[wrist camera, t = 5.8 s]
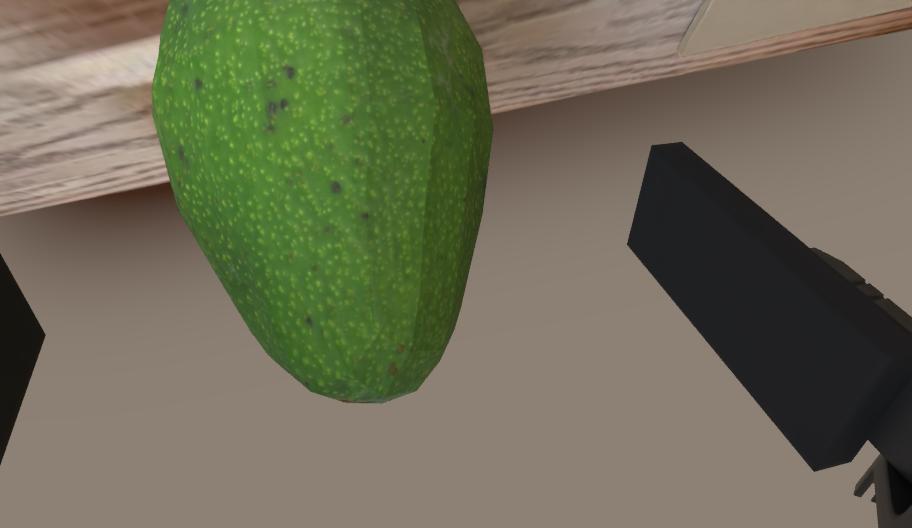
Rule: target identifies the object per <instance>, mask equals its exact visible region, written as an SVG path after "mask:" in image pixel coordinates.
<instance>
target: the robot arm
mask: <svg viewBox="0 0 912 528" xmlns="http://www.w3.org/2000/svg"><path fill="white" fill-rule="evenodd" d="M627 245H628V246H629V248H630V249H631V250H632V251H633V252H634V253H635V255H636V256H637V257H638V258H639V260H640V261H641V262H642V263H643V265H644V266H645V267H646V268H647V269H648V271H649V272H650V273H651V274H652V275H653V277H654V278H655V279H656V280H657V282H658V283H659V284H660V285H661V286H662V287H663V289H664V290H665V291H666V292H667V294H668V295H669V296H670V297H671V299H672V300H673V301H674V302H675V303H676V305H677V306H678V307H679V308H680V310H682V312H683V313H684V314H685V316H686V317H687V318H688V319H689V320H690V321H691V323H692V324H693V325H694V327H696V329H697V330H698V331H699V333H700V334H701V335H702V336H703V337H704V339H705V340H706V341H707V342H708V343H709V345H710V346H711V347H712V348H713V349H714V351H715V352H716V353H717V354H718V356H719V357H720V358H721V359H722V361H723V362H724V363H725V364H726V365H727V367H728V368H729V369H730V370H731V371H732V373H733V374H734V375H735V376H736V378H737V379H738V380H739V381H740V382H741V384H742V385H743V386H744V387H745V388H746V390H747V391H748V392H749V393H750V395H751V396H752V397H753V398H754V399H755V401H756V402H757V403H758V404H759V405H760V407H761V408H762V409H763V410H764V411H765V413H766V414H767V415H768V416H769V418H770V419H771V420H772V421H773V422H774V424H775V425H776V426H777V427H778V429H779V430H780V431H781V432H782V433H783V435H784V436H785V437H786V438H787V439H788V440H789V442H790V443H791V444H792V446H793V447H794V448H795V449H796V450H797V452H798V453H799V454H800V455H801V456H802V458H803V459H804V460H805V461H806V463H807V464H808V465H809V466H810V467H811V469H812V470H813V471H814V472H815V471H819V470H823V469H826V468H830V467H834V466H838V465H841V464H845V463H849V462H851V461H852V460H853V459H854V457H855V456H856V455H857V453H858V452H859V450H860V449H861V448H862V446H863V445H864V444H865V442H866V441H867V440H869V441H870V442H871V444H873V446H874V447H875V448H876V449H877V450H878V451H879V452H880V455H879V456H878V457H877V458H876V460H875V461H874V462H873V464H872V465H871V466H870V467H869V469H868V470H867V471H866V473H865V474H864V475H863V477H862V478H861V479H860V481H859V482H858V483H857V484H856V487H855V491H854V495H855V496H858V497H861V496H862V495H863V494H864V493H865V492H866V490H867V489H868V488H869V487H870V485H871V484H872V483H875V495H874V497H873V498H872V499H871V501H872V502H875V503H876V504H877V516H878V527H879V528H912V317H911V316H909V315H908V314H907V313H906V312H905V311H903V310H902V309H901V308H900V307H898V306H897V305H896V304H895V303H893V302H892V301H891V300H890V299H888V298H887V299H884V297H883V294H882V293H881V292H880V291H879V290H877V289H876V288H875V287H874V286H872V285H871V284H870V283H869V284H866V283H865V279H864V278H862V277H861V276H860V275H859V274H857V273H856V272H855V271H854V270H852V269H851V268H850V267H849V266H848V265H846V264H845V263H844V262H842V261H840V260H838V259H836V258H834V257H832V256H831V255H829V254H827V253H825V252H822V251H821V250H819V249H817V248H809V247H808V246H806V245H805V244H804V243H803V242H802V241H800V240H799V239H798V238H797V237H796V236H794V235H793V234H792V233H791V232H789V231H788V230H787V229H786V228H785V227H783V226H782V225H781V224H780V223H779V222H778V221H776V220H775V219H774V218H773V217H772V216H770V215H769V214H768V213H767V212H765V211H764V210H763V209H762V208H761V207H759V206H758V205H757V204H756V203H755V202H754V201H752V200H751V199H750V198H749V197H747V196H746V195H745V194H744V193H743V192H741V191H740V190H739V189H738V188H737V187H735V186H734V185H733V184H732V183H731V182H729V181H728V180H727V179H726V178H725V177H723V176H722V175H721V174H720V173H719V172H717V171H716V170H715V169H714V168H712V167H711V166H710V165H709V164H708V163H706V162H705V161H704V160H703V159H702V158H701V157H699V156H698V155H697V154H696V153H694V152H693V151H692V150H691V149H690V148H688V147H687V146H686V145H685V144H684V143H683V142H678V143H668V144H660V145H652V146H651V151H650V154H649V158H648V162H647V167H646V170H645V175H644V178H643V182H642V186H641V190H640V195H639V199H638V203H637V207H636V211H635V215H634V219H633V223H632V227H631V231H630V235H629V239H628V243H627ZM44 338H45V333H44V331H43V329H42V327H41V326H40V324H39V322H38V320H37V318H36V317H35V315H34V313H33V311H32V310H31V308H30V306H29V304H28V302H27V301H26V299H25V297H24V295H23V293H22V292H21V290H20V288H19V286H18V284H17V283H16V281H15V279H14V277H13V275H12V274H11V272H10V270H9V268H8V266H7V265H6V263H5V261H4V259H3V258H2V256H1V254H0V464H1V461H2V459H3V456H4V453H5V450H6V447H7V444H8V441H9V438H10V436H11V433H12V430H13V427H14V424H15V421H16V418H17V415H18V413H19V410H20V407H21V404H22V401H23V398H24V396H25V393H26V390H27V387H28V384H29V381H30V378H31V376H32V372H33V370H34V367H35V364H36V361H37V358H38V355H39V353H40V350H41V346H42V344H43V341H44Z"/></svg>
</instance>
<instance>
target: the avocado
mask: <svg viewBox="0 0 912 528" xmlns="http://www.w3.org/2000/svg"><path fill="white" fill-rule="evenodd" d="M152 111H153V119H154V122H155V126H156V130H157V134H158V137H159V141H160V145H161V149H162V152H163V156H164V160H165V163H166V167H167V171H168V175H169V178H170V182H171V186H172V189H173V193H174V197H175V201H176V205H177V208H178V210H179V212H180V214H181V215H182V217H183V219H184V220H185V222H186V224H187V226H188V227H189V229H190V231H191V232H192V234H193V236H194V237H195V239H196V241H197V242H198V244H199V246H200V248H201V249H202V251H203V252H204V254H205V256H206V258H207V259H208V261H209V263H210V264H211V266H212V268H213V270H214V271H215V273H216V274H217V276H218V278H219V279H220V281H221V283H222V284H223V286H224V288H225V290H226V291H227V293H228V295H229V296H230V298H231V300H232V301H233V303H234V305H235V306H236V308H237V310H238V311H239V313H240V314H241V316H242V318H243V320H244V321H245V323H246V325H247V326H248V328H249V330H250V331H251V332H252V334H253V335H254V336H255V338H256V339H257V340H258V342H259V343H260V345H261V346H262V347H263V349H264V350H265V351H266V353H267V354H268V355H269V356H270V357H271V358H272V359H273V360H274V361H275V362H277V363H278V364H279V365H280V366H281V367H282V368H284V369H285V370H286V371H287V372H288V373H289V374H291V375H292V376H293V377H294V378H295V379H297V380H298V381H299V382H300V383H302V384H303V385H304V386H305V387H306V388H307V389H308V390H310V391H311V392H314V393H317V394H320V395H323V396H326V397H330V398H333V399H336V400H339V401H342V402H346V403H384V402H387V401H390V400H392V399H395V398H398V397H401V396H403V395H406V394H409V393H412V392H414V391H417V390H418V388H419V387H420V386H421V384H422V383H423V382H424V381H425V379H426V378H427V377H428V375H429V374H430V373H431V372H432V370H433V369H434V367H435V366H436V365H437V364H438V362H439V361H440V359H441V357H442V355H443V353H444V351H445V349H446V347H447V344H448V342H449V340H450V338H451V336H452V333H453V331H454V329H455V326H456V322H457V319H458V316H459V312H460V309H461V305H462V300H463V296H464V292H465V287H466V282H467V278H468V274H469V269H470V265H471V261H472V256H473V252H474V248H475V243H476V239H477V235H478V231H479V227H480V222H481V217H482V213H483V205H484V197H485V189H486V181H487V174H488V166H489V158H490V150H491V142H492V134H493V125H492V118H491V111H490V104H489V96H488V89H487V82H486V75H485V68H484V61H483V54H482V49H481V47H480V45H479V43H478V41H477V39H476V37H475V36H474V34H473V32H472V30H471V28H470V26H469V25H468V23H467V21H466V19H465V17H464V15H463V14H462V12H461V10H460V8H459V6H458V4H457V3H456V1H455V0H170V2H169V5H168V9H167V13H166V16H165V20H164V24H163V27H162V31H161V36H160V46H159V55H158V60H157V65H156V69H155V74H154V79H153V84H152Z"/></svg>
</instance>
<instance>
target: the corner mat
mask: <svg viewBox="0 0 912 528" xmlns="http://www.w3.org/2000/svg"><path fill="white" fill-rule="evenodd" d="M908 7H912V0H704V1H703V3H702V5H701V7H700V8H699V10H698V12H697V14H696V16H695V18H694V19H693V21H692V23H691V25H690V27H689V29H688V30H687V32H686V34H685V36H684V38H683V39H682V41H681V43H680V45H679V47H678V51H679V55H680V57H685V56H690V55H694V54H699V53H703V52H708V51H712V50H717V49H721V48H726V47H731V46H735V45H740V44H744V43H749V42H753V41H758V40H763V39H767V38H772V37H776V36H781V35H785V34H790V33H794V32H799V31H804V30H808V29H813V28H817V27H822V26H826V25H831V24H835V23H840V22H845V21H849V20H854V19H858V18H863V17H867V16H872V15H877V14H881V13H886V12H890V11H895V10H899V9H904V8H908Z"/></svg>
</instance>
